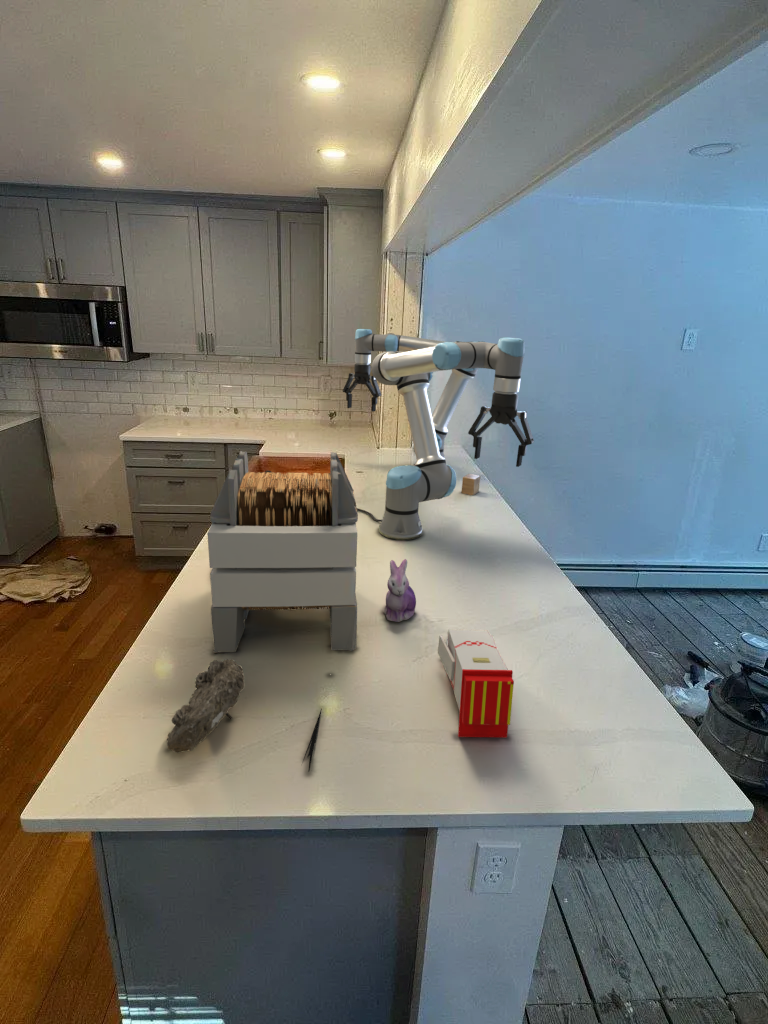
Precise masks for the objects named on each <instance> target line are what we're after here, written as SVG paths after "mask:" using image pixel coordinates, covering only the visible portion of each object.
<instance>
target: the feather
mask: <svg viewBox="0 0 768 1024" xmlns="http://www.w3.org/2000/svg"><path fill="white" fill-rule="evenodd" d="M329 675H330V676H331V675H332V674H331V673H330V674H329ZM322 710H323V707H321V708H320V710H319V713H318V716H317V719H316V723H315V725H314V728H313V731H312V733H311V737H310V739H309V742H308V745H307V748H306V751H305V754H304V757H303V760H302V763H301V767H302V765H303V763H304V761H305V758H308V759H309V760H308V762H307V763H308V764H307V766H308V771H310V770H311V766H312V765H311V764H312V760H313V757H315V756H314V755H315V751H316V749H315V746H317V739H318V733H319V729H320V722H321V717H322V712H323V711H322ZM313 754H314V755H313ZM306 755H307V757H306Z"/></svg>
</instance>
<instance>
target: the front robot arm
mask: <svg viewBox="0 0 768 1024" xmlns="http://www.w3.org/2000/svg"><path fill="white" fill-rule="evenodd" d="M461 342H462V341H459V342H456V341H444V343H439V344H437V346H433V347H428V348H423V349H418V350H413V351H395V352H393V351H388V352H379V354H377V355H376V356H375V357H374V358H373V360H372V361H371V362H372V363H371V374H372V376H374V378H375V379H376V381H377V383H380V384H381V385H384V386H396V389H397V393H398V394H399V395H401V396H402V397H403V401H404V402H403V403H404V406H405V410H406V416H407V420H408V424H409V429H410V434H411V439H412V445H413V450H414V453H415V458H416V461H415V463H414V464H413V465H412V464H407V465H406V464H405V465H402V464H401V465H397V466H394V467H392V468H391V469H389V470H388V472H387V475H386V479H385V504H384V505H385V507H384V508H385V509H384V513H383V515H382V519H378V518H376V517H375V515H374V514H373V513H371V512H369V511H367V510H364V509H361V508H358V507H356V508H357V512H362V513H364V514H367V515H369V516H370V517H371V519H372V520H373V521H375V522H378V523H379V525H378V533H379V534H380V535H381V536H382V537H385V538H387V539H389V540H395V541H410V540H415V539H418V538H420V537H421V536H422V535H423V525H422V520H421V518H420V515H419V507H420V506H419V505H420V503H422V502H429V501H435V500H440V499H444V498H446V497H449V496H451V495H452V494H453V492H454V491H455V489H456V485H457V473H456V471H455V469H454V468H453V466H451V465H449V464H447V461H446V457H445V458H443V457H442V456H441V455H440V452H439V447H438V442H437V438H436V433H435V428H434V424H433V419H432V414H433V413H432V410H431V406H430V401H429V396H428V389H429V387H430V381H431V380H432V379H433V374H434V373H436V372H441V371H450V370H451V371H452V369H464V368H465V369H468V368H478V369H487V370H494V379H493V386H492V387H493V388H492V390H493V393H492V397H491V407H490V406H487V405H483V406H480V411H479V414H478V415H477V416H476V418H475V420H474V421H473V423H472V425H471V427H470V428H469V430H468V432H467V434H468V435H470V436H472V437H473V440H472V448H474V457H473V459H474V460H478V459H480V458H481V451H482V442H483V436H481V435H482V434H483V433H484V432H485V431H486V430H487V429H489V428H490V426H492V425H493V423H495V424H498V425H499V424H501V425H505V426H506V425H508V427H510V428H511V430H512V432H513V433H514V435H515V436H516V438H517V440H518V441H519V443H520V444H519V445H518V448H517V456H516V463H515V467H517V468H519V467H521V466H522V463H523V457H525V456H526V455H527V449H528V446H530V445H532V444H534V443H535V439H534V437H533V433H532V430H531V426H530V424H529V420H528V411H527V410H523V411H518V402H519V394H518V393H519V392H520V387H521V378H522V377H521V376H522V368H523V363H524V357H525V344H526V343H525V341H524V339H522V338H519V337H500V338H499V339H498V341H497V343H493V342H488V341H487V342H486V341H483V340H482V341H479V340H478V341H465V342H466V343H461ZM488 413H489V415H490V416H491V417H489V419H488V420H486V422H485V423H483V425H482V426H480V425H481V424H482V421H483V420H484V418H485V416H486V415H487V414H488ZM517 417H518V419H519V421H520V424H521V427H522V430H523V431H522V430H521V427H520V426H519V425H518V422H517V420H516V419H515V418H517ZM479 426H480V427H479ZM264 472H265V473H267V472H272V471H271V470H268V469H267V470H265V471H264Z"/></svg>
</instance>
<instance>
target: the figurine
mask: <svg viewBox="0 0 768 1024" xmlns="http://www.w3.org/2000/svg"><path fill="white" fill-rule="evenodd" d="M407 567H408V559H406V558H404V559H403V560H402V561H401V563H400V565H399V566H398V565H397V563H396V562H395V561H394V560H393V559H391V560H390V561H389V570H390V576H389V578H388V579H387V589H388V591H387V592H386V594H385V595H386V596H385V607H384V615H385V616H386V620H387V621H391V622H395V623H400V622H402V621H406V620H409V619H410V618H411V617H413V616H414V615H415V610H416V606H417V597H416V593H415V591H414V590H413V587H411V586H410V582H409V579H408V577H407V574H406V571H407Z"/></svg>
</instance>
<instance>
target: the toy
mask: <svg viewBox="0 0 768 1024" xmlns="http://www.w3.org/2000/svg"><path fill="white" fill-rule="evenodd" d="M446 640H447V643H446V641H445V639H444V636H443V635H442V634H439V637H438V646H437V656H438V657H439V659H440V661H441V663H442V666H443V668H444V670H445V672H446V674H447V677H448V679H449V681H450V684H451V687H452V690H453V693H454V697H455V701H456V705H457V708H458V711H459V714H458V715H459V716H458V730H457V731H458V732H457V737H458V738H508V731H509V726H510V725H511V717H512V707H513V697H514V696H513V695H514V684H515V680H514V679H513V673H514V671H513V670H512V669H508V667H507V665H506V662H505V661H504V659H503V658H502V655H501V653H500V651H499V649H498V647H497V643H496V639H495V637H494V635H493V634H491V632H490V631H489V629H467V628H466V629H465V628H463V629H461V628H460V629H459V628H448V630H447V639H446Z"/></svg>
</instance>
